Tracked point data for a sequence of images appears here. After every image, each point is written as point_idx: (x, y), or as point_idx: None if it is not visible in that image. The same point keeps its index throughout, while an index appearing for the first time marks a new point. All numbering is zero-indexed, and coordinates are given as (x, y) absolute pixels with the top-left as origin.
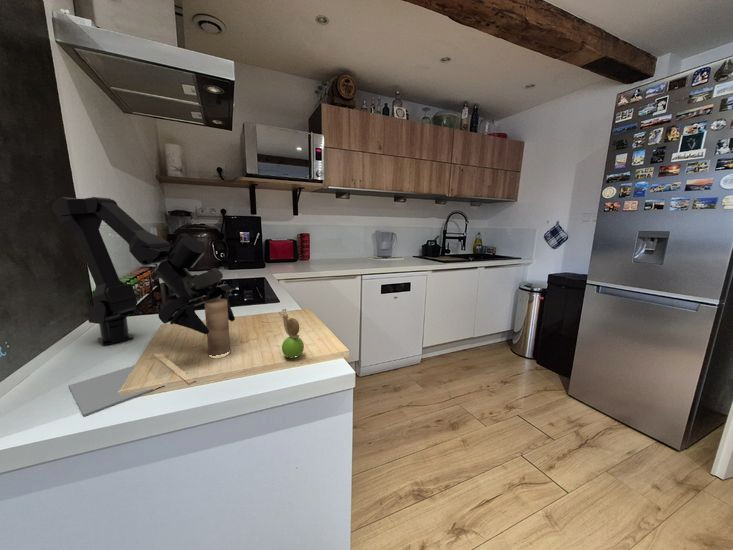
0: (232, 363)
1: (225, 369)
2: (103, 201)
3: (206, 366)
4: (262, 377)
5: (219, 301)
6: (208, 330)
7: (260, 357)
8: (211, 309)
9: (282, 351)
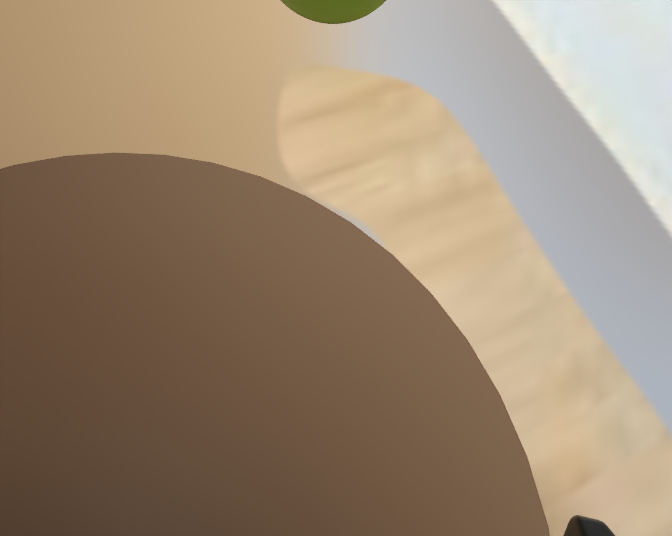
0: None
1: (560, 345)
2: None
3: None
4: (610, 86)
5: (80, 405)
6: (594, 523)
7: (351, 179)
8: None
9: (371, 2)
